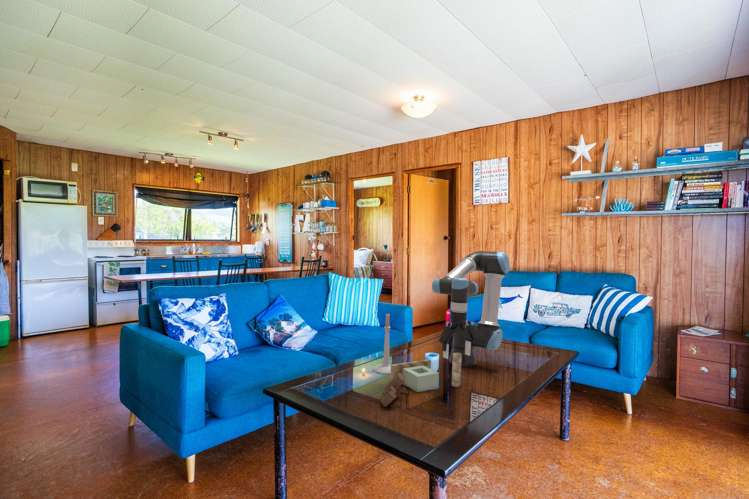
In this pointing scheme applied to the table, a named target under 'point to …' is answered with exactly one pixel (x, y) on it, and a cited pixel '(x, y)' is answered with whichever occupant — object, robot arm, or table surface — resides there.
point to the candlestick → (385, 352)
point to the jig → (399, 367)
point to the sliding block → (421, 378)
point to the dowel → (456, 369)
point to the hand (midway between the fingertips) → (456, 356)
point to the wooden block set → (393, 389)
